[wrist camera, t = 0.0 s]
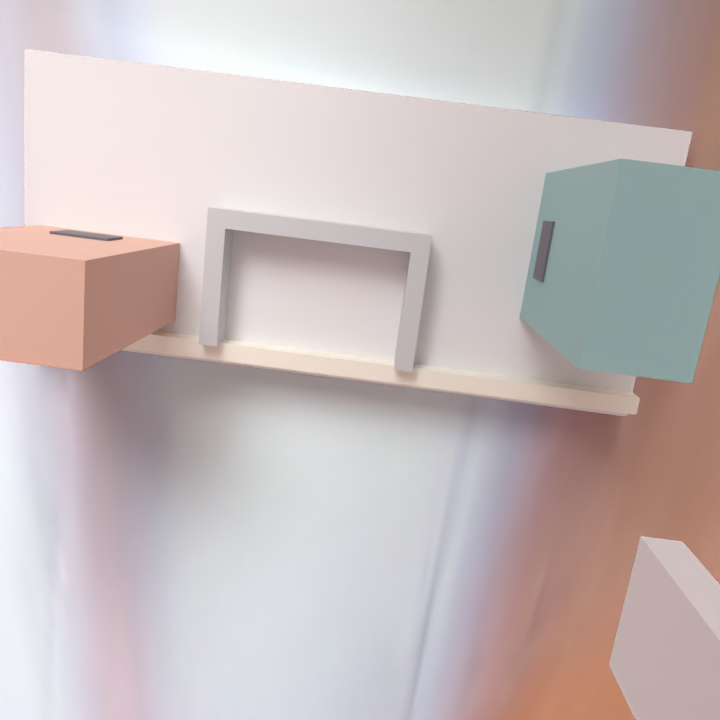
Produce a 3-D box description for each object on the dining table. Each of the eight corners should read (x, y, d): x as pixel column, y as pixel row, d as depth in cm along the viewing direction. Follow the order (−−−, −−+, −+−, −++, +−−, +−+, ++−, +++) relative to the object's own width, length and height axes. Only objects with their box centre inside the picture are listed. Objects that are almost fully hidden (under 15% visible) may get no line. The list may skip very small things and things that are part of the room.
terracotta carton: (41, 222, 38) (-116, 231, 26) (179, 240, 37) (85, 257, 26) (40, 305, 39) (-110, 348, 27) (175, 322, 39) (82, 373, 27)
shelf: (39, 54, 37) (3, 39, 33) (680, 134, 36) (710, 127, 33) (37, 333, 41) (5, 344, 37) (618, 408, 40) (639, 427, 37)
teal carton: (517, 317, 38) (574, 368, 26) (543, 172, 36) (618, 157, 24) (600, 327, 38) (695, 384, 26) (631, 183, 36) (748, 174, 24)
